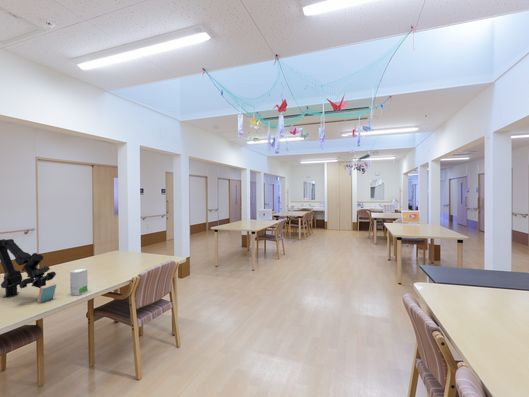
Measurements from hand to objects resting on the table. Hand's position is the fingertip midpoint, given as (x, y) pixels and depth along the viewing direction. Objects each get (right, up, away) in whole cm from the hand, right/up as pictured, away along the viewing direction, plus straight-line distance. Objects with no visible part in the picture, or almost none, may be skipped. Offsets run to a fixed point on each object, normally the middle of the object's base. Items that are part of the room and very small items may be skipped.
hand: (45, 289), depth 170 cm
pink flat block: (0, -7, 0) cm, 7 cm away
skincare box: (+12, -7, +13) cm, 19 cm away
